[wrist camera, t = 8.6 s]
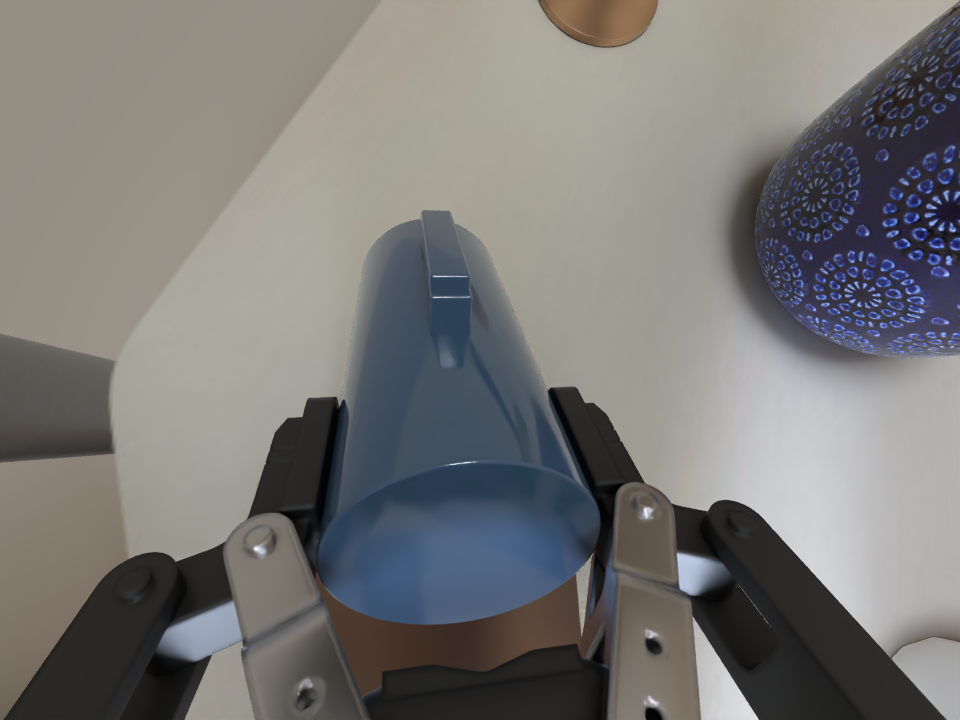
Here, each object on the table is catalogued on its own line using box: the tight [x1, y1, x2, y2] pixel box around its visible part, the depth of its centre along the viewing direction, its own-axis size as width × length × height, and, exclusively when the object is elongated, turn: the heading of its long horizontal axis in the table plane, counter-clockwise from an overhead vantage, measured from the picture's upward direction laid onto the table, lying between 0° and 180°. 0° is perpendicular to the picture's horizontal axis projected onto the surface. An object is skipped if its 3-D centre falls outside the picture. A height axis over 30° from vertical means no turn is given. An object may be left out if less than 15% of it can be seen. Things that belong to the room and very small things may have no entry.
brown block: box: [315, 571, 581, 697], centre depth 22 cm, size 12×10×5 cm
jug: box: [316, 210, 601, 625], centre depth 14 cm, size 6×13×13 cm, turn 3°
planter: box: [755, 1, 960, 358], centre depth 23 cm, size 16×17×15 cm
